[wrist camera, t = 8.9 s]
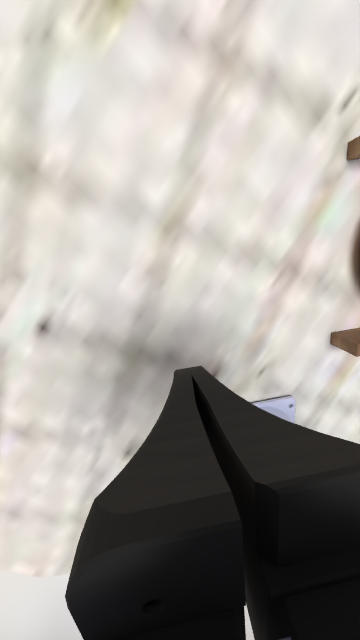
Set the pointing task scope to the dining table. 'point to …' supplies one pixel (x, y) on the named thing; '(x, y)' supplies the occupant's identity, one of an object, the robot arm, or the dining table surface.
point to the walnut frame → (356, 339)
